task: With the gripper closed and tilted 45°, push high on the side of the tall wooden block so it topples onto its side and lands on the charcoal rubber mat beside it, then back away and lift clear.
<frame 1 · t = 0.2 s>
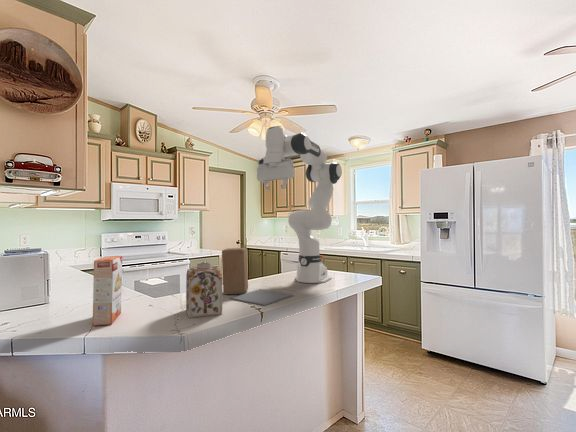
hand: (275, 189, 150), 48 cm above the countertop, tool pointing down, fingers open, 8 cm apart
wooden block: (236, 292, 146), on the countertop, touching charcoal rubber mat
charcoal rubber mat: (262, 297, 137), on the countertop
cracker box: (108, 320, 107), on the countertop
decorative jar: (203, 312, 115), on the countertop
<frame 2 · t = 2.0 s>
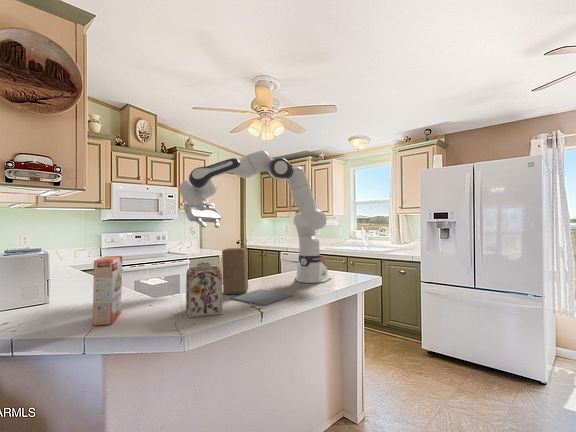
hand: (211, 226, 155), 30 cm above the countertop, tool tilted 45°, fingers open, 8 cm apart
nothing on the countertop moved.
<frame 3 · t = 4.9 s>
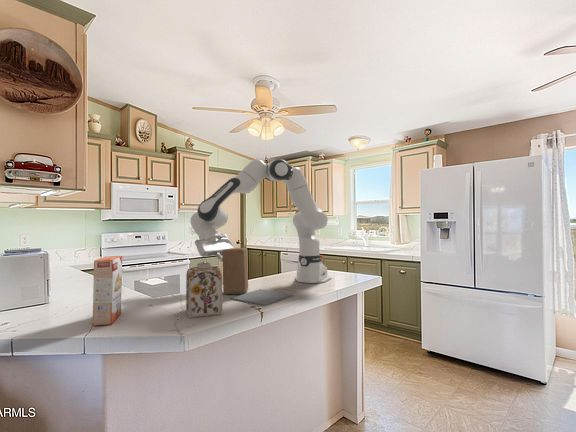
hand: (224, 260, 151), 14 cm above the countertop, tool tilted 45°, fingers closed
wooden block: (236, 292, 146), on the countertop, touching charcoal rubber mat, gripper
everything else where it was.
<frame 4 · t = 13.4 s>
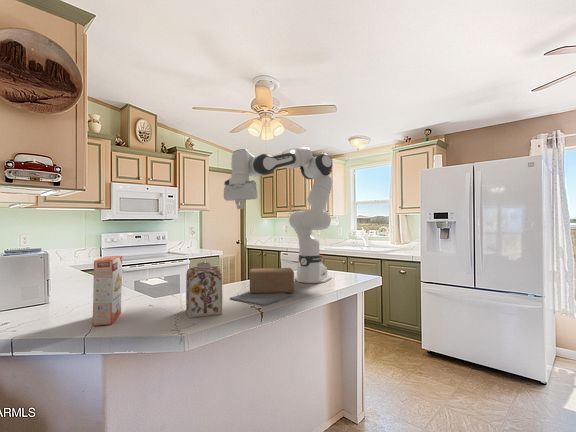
hand: (240, 209, 159), 39 cm above the countertop, tool pointing down, fingers closed
wooden block: (249, 280, 145), point 6 cm above the countertop, touching charcoal rubber mat
everything else where it was.
at the end: wooden block tilted 90°; wooden block touching charcoal rubber mat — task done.
